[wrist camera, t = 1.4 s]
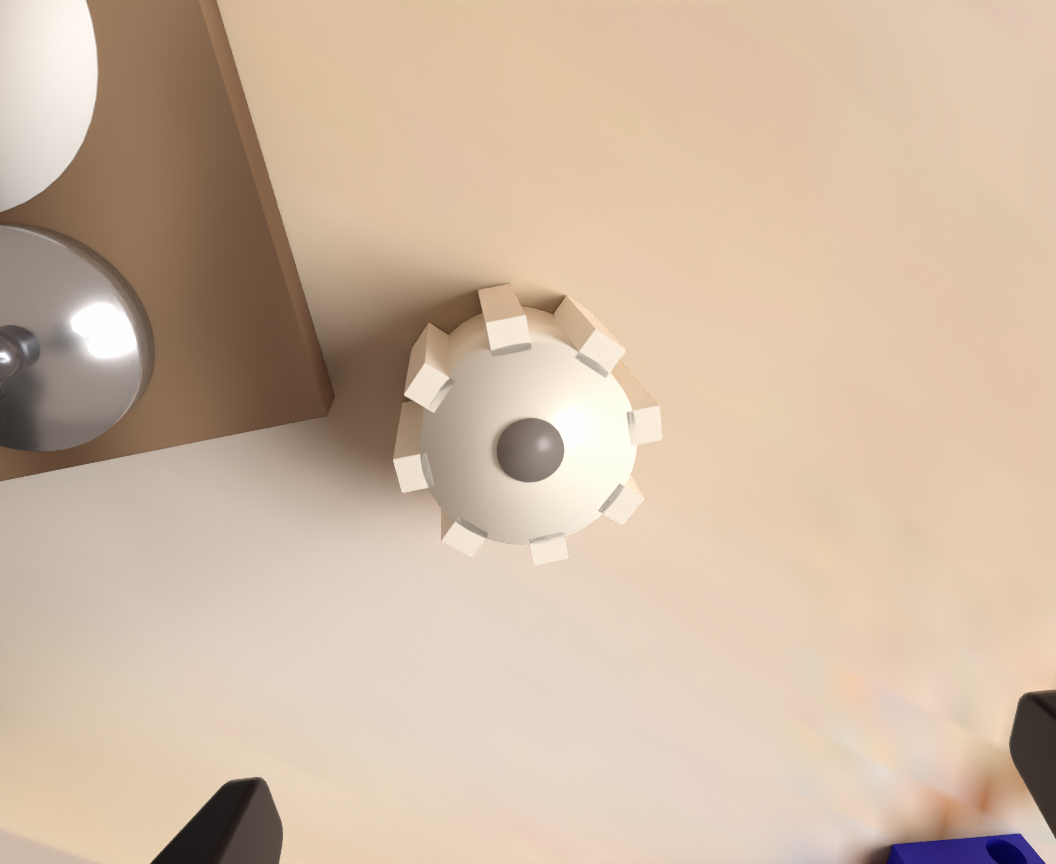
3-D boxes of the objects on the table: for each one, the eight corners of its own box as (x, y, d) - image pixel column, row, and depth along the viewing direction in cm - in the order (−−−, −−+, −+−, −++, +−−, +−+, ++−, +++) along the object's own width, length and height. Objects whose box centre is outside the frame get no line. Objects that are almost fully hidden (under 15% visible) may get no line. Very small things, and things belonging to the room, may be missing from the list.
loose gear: (430, 512, 21) (427, 591, 17) (378, 308, 19) (361, 348, 15) (633, 470, 21) (674, 539, 18) (607, 264, 19) (649, 292, 15)
